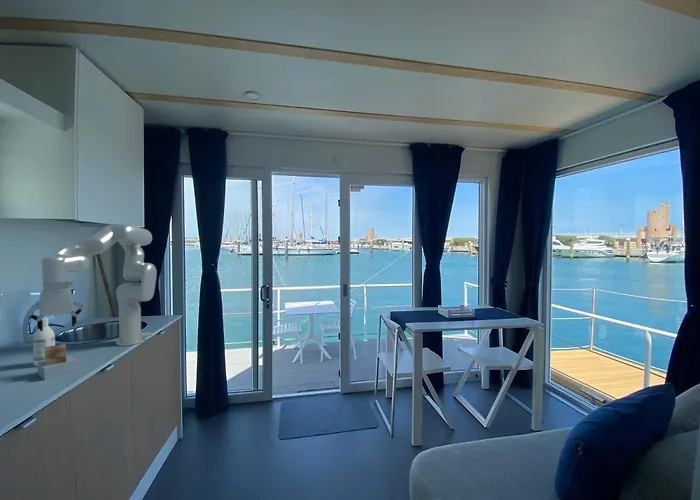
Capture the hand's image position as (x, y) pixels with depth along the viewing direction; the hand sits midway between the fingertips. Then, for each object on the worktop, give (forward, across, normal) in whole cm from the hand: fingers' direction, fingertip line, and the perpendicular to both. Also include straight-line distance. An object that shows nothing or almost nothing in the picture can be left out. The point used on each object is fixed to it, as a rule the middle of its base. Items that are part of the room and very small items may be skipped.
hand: (57, 328), depth 131 cm
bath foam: (+19, +5, -16) cm, 25 cm away
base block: (+19, +1, +1) cm, 19 cm away
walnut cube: (+14, +1, +1) cm, 14 cm away
